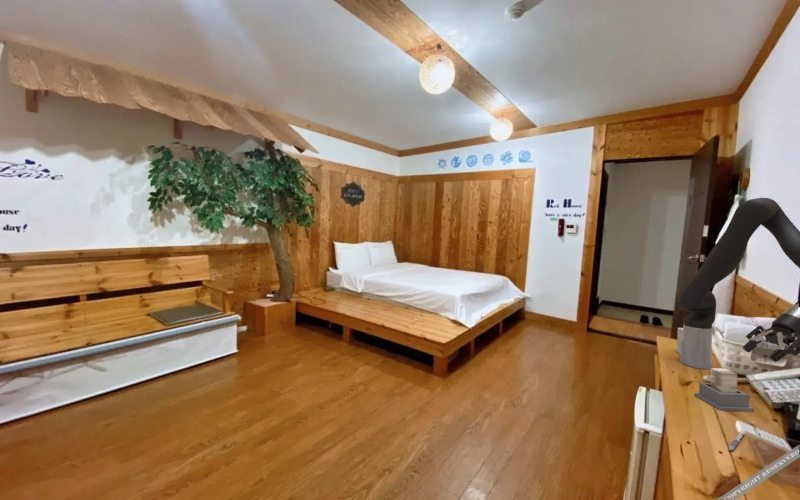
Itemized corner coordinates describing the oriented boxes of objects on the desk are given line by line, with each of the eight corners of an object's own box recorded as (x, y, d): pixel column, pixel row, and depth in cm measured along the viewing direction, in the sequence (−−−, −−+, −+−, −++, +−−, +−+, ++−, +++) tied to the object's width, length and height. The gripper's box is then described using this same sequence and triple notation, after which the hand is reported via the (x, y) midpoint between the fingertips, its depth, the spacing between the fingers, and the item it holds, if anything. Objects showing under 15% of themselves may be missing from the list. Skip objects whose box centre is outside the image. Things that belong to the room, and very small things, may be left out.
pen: (745, 436, 91) (745, 431, 91) (732, 454, 84) (732, 449, 84) (740, 434, 92) (740, 429, 92) (727, 452, 85) (727, 447, 84)
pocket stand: (694, 395, 114) (694, 381, 114) (725, 396, 113) (725, 382, 113) (720, 410, 104) (720, 395, 104) (753, 411, 103) (754, 396, 103)
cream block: (710, 396, 111) (711, 368, 111) (724, 397, 111) (724, 368, 110) (721, 403, 107) (722, 373, 106) (736, 403, 106) (737, 373, 106)
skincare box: (681, 355, 154) (681, 329, 153) (676, 351, 158) (676, 327, 157) (697, 356, 152) (697, 330, 151) (691, 353, 156) (692, 328, 156)
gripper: (765, 308, 113) (729, 340, 115) (814, 318, 99) (772, 354, 100) (781, 323, 113) (745, 355, 114) (832, 335, 99) (790, 371, 100)
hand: (758, 354), depth 107 cm, fingers open, 8 cm apart
